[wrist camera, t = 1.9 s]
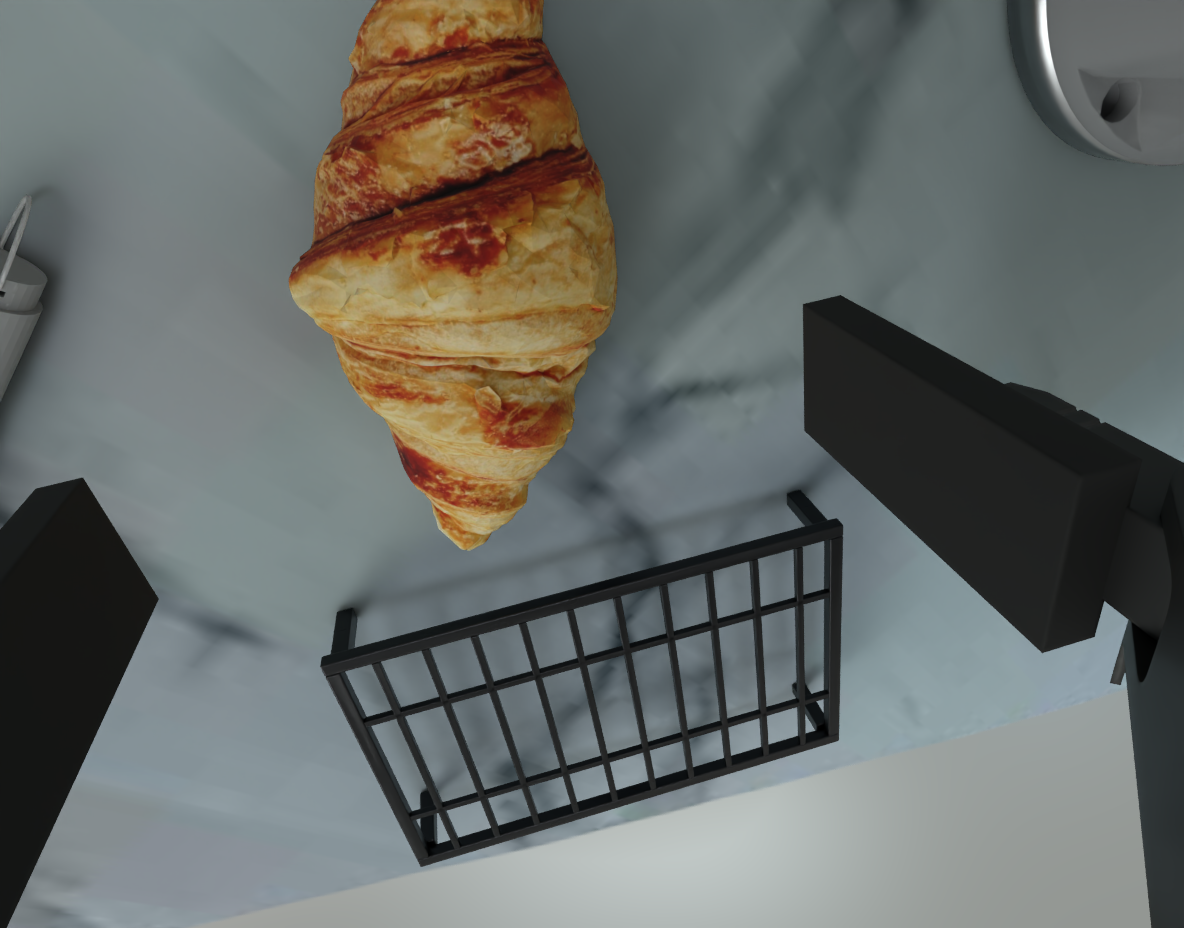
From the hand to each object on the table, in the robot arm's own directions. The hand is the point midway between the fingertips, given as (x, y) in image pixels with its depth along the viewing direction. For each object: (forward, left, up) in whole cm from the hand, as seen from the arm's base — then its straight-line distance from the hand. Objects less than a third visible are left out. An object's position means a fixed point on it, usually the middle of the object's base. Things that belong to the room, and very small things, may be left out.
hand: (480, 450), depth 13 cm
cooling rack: (-2, +20, -14) cm, 25 cm away
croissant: (0, 0, -14) cm, 14 cm away
